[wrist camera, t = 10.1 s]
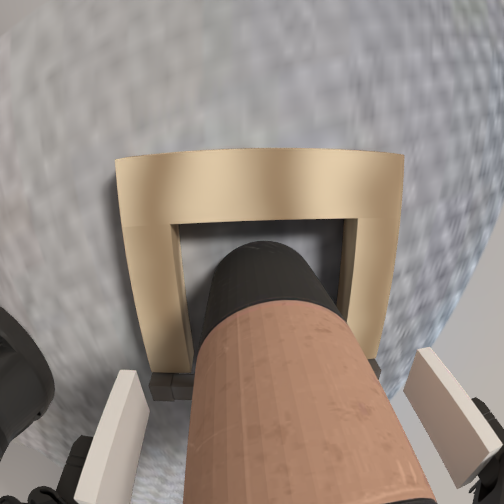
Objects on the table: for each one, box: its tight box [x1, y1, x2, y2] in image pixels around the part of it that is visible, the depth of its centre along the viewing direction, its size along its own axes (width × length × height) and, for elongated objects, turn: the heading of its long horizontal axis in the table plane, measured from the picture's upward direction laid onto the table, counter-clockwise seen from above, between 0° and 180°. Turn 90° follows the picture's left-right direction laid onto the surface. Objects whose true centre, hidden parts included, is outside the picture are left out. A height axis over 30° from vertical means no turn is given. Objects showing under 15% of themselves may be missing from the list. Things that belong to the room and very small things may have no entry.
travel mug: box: [183, 241, 437, 504], centre depth 13 cm, size 8×8×20 cm
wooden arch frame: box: [115, 148, 404, 401], centre depth 20 cm, size 17×17×4 cm
